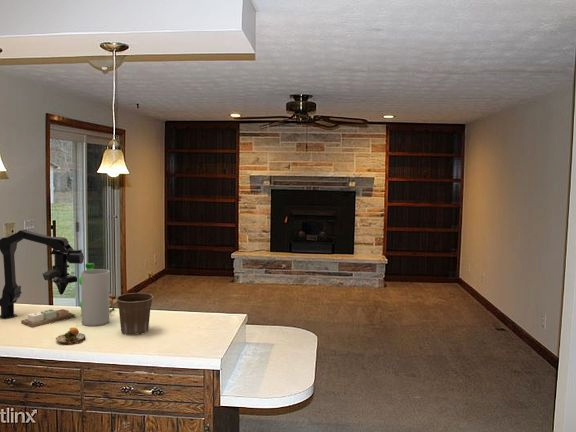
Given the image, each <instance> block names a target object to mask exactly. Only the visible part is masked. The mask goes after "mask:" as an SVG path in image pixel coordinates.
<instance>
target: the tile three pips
mask: <svg viewBox="0 0 576 432" xmlns="http://www.w3.org/2000/svg"><path fill="white" fill-rule="evenodd" d="M55 311H56V316H58V317H61V316H65V315H69V313H70V310H68V309H63V308H62V309H56V310H55Z"/></svg>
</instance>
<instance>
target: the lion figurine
mask: <svg viewBox="0 0 576 432" xmlns="http://www.w3.org/2000/svg"><path fill="white" fill-rule="evenodd" d="M109 309H111V310H112V311H114V310H115V304H114V300H113V299H112V298H111V297H109Z"/></svg>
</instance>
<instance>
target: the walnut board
mask: <svg viewBox="0 0 576 432" xmlns="http://www.w3.org/2000/svg"><path fill="white" fill-rule="evenodd" d="M73 318H74V319H75V318H76V314H75V313H71V312H69V315H65V316H61V317H58V316H57V317H55V318H51V319H44V320H42V321H38V322H34V323H33V322H30V321H28V318H26V319H21V320H20V324H22V325H24V326H27V327H30V328H32V329H33V328H37V327H42V326H45V325H49V323H50V324H53V323H58V322H62V321H65V320H70V319H73Z"/></svg>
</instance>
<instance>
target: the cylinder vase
mask: <svg viewBox="0 0 576 432" xmlns="http://www.w3.org/2000/svg"><path fill="white" fill-rule="evenodd" d="M80 276H81V285H82V286H81V285H80V286H81V300H82V309H81V323H82V325H84V326H88V327H96V326H97V327H98V326H103V325H106V324H108V323H109V322H110V306H109V298H110V270H109V269H103V268H93V269H91V270H87V269H86V270H82V271H81V274H80Z"/></svg>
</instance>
